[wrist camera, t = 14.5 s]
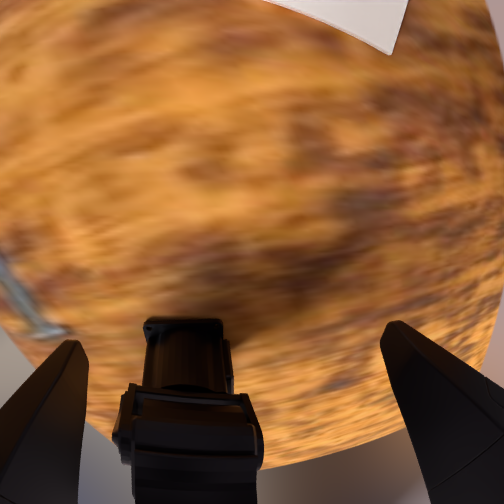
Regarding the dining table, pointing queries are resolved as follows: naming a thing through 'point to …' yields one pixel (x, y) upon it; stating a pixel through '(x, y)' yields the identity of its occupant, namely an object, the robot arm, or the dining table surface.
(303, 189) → the dining table surface
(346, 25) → the letter tile
